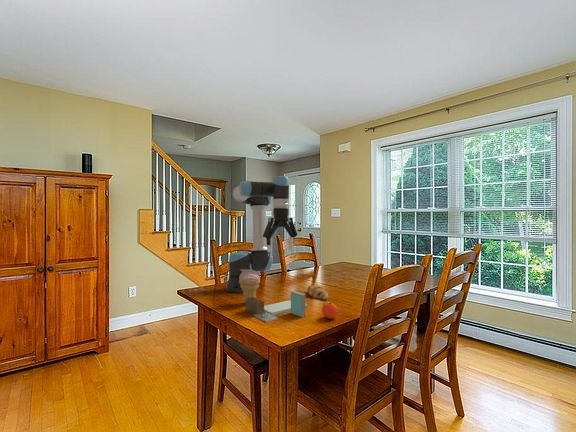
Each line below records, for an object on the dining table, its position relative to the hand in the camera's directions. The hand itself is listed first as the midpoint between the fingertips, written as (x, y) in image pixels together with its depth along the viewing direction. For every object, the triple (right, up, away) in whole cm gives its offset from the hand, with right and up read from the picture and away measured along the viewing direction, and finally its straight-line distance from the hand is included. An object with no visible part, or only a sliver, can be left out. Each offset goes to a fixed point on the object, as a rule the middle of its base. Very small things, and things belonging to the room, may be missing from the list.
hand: (280, 251), depth 149 cm
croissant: (+20, -29, +24) cm, 42 cm away
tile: (+8, -28, -9) cm, 31 cm away
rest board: (+1, -28, +1) cm, 28 cm away
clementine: (+22, -29, -13) cm, 38 cm away
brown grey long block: (-9, -28, -10) cm, 31 cm away
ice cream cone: (-16, -28, +8) cm, 34 cm away
